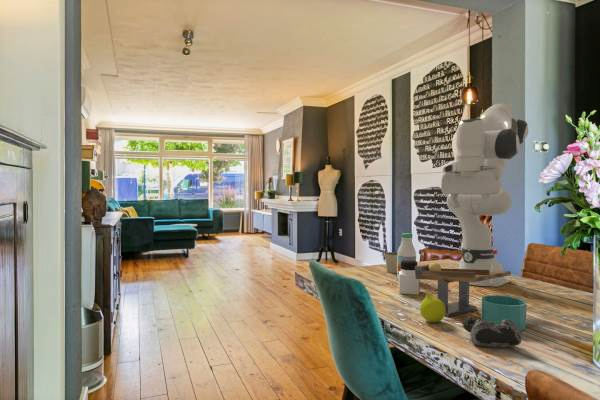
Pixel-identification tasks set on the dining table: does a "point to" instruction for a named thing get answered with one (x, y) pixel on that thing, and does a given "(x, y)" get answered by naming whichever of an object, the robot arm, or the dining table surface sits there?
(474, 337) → the bison figurine
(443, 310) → the ornament
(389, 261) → the flower pot
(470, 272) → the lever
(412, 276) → the medicine bottle
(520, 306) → the cup
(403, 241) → the milk bottle
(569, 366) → the dining table surface
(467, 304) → the lever stand
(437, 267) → the ball
